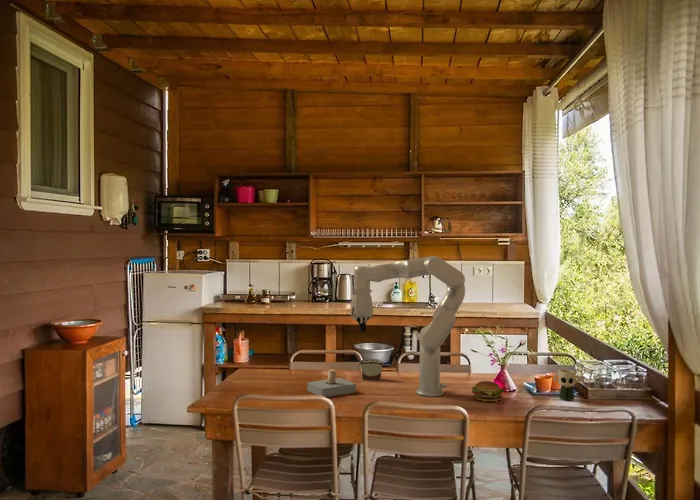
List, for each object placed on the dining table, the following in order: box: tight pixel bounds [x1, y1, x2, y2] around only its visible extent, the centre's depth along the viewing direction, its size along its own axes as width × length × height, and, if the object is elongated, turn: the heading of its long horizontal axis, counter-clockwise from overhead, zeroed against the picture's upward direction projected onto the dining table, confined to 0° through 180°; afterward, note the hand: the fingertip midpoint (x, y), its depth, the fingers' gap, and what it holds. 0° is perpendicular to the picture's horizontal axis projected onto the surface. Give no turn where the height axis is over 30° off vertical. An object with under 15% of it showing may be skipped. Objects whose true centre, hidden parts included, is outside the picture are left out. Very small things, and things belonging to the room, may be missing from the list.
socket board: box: [307, 377, 357, 398], centre depth 258 cm, size 18×14×4 cm
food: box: [471, 380, 505, 402], centre depth 248 cm, size 14×14×8 cm
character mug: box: [553, 368, 581, 401], centre depth 249 cm, size 11×7×13 cm, turn 72°
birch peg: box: [327, 369, 337, 385], centre depth 258 cm, size 4×4×10 cm
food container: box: [359, 358, 384, 382], centre depth 284 cm, size 12×6×10 cm, turn 84°
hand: (362, 331), depth 258 cm, fingers closed
